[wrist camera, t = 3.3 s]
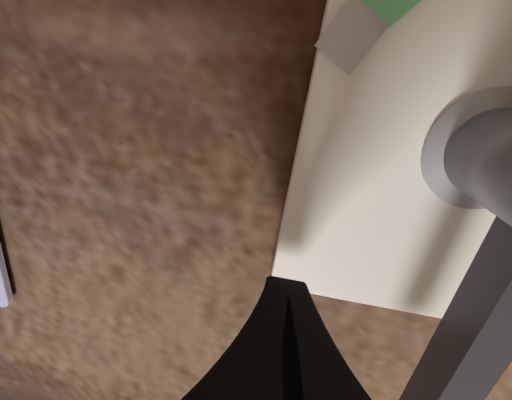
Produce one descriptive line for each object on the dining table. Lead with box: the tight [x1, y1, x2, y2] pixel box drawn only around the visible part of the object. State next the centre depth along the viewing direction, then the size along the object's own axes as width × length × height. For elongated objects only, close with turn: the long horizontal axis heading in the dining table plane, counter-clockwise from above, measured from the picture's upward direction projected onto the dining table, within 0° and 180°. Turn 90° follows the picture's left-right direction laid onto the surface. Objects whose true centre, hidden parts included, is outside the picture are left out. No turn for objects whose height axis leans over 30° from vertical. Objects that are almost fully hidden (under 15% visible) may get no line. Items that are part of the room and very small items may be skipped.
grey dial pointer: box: [399, 108, 512, 400], centre depth 8 cm, size 16×3×4 cm, turn 172°
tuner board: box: [271, 0, 512, 318], centre depth 10 cm, size 12×14×1 cm
